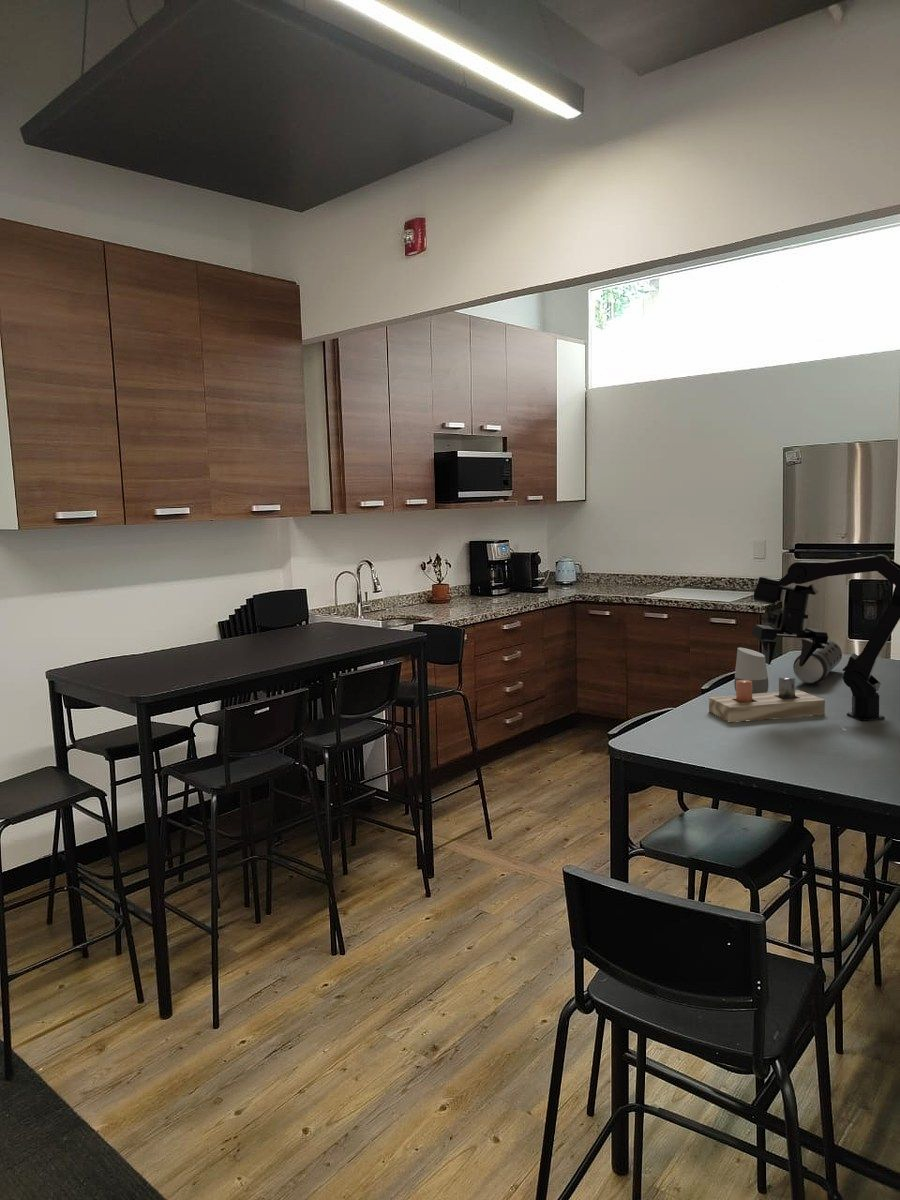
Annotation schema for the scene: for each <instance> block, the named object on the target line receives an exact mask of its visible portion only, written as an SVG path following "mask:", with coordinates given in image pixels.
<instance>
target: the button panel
mask: <svg viewBox="0 0 900 1200" xmlns="http://www.w3.org/2000/svg"><path fill="white" fill-rule="evenodd" d="M825 701H826V699H824V698H821V697H818V696H816V695H813V694H810V693H808V692H805V691H802V690H800V689H795V699H785V700H783V699H781V698H779V691H774V692H772V691H771V692H769V691H768V692H767V693H757V694H752V702H747V703H739V702H737V701H736V694H735V695H724V696H723V695H721V696H712V697H711V696H709V697H708V712H709V713H710V712H711V714H712V713H713V715H714V714H715V715H714V716H716V715H717V716H716V717H718V716H719V717H718V718H720V717H721V718H720V719H722V718H723V719H722V720H724V719H725V720H724V721H726V720H727V721H726V722H728V721H729V722H734V723H737V722H736V721H746V720H758V721H763V720H762V719H770V720H774V719H773V718H782V719H790V718H789V717H794V718H803V717H802V716H806V717H811V716H810V715H818V716H823V715H822V714H826V710H825V709H826V706H825V705H826V702H825ZM729 722H728V723H729ZM746 722H747V721H746Z"/></svg>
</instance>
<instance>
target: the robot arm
mask: <svg viewBox="0 0 900 1200" xmlns="http://www.w3.org/2000/svg"><path fill="white" fill-rule="evenodd" d="M869 572H870V573H871V572H878V574H880V575H881V576H882V577H884V578H885V579H886V580H888V581H889V582H890V583H891V584H893V585H894V588H893V589H894V590H893V592H892V595H891V599H890V602H889V605H888V606H887V608H886V610H885V611H884V614H883V615H882V617H881V618H880V620H879V622H878V624H877V626H876V627H875V629H874V630H873V632H872V634H871V635H870V637H869V639H868V641H867V642H866V645H865V646H864V648H863V649H862V651H861V653H860V654H859V655H858V654H856V653H855V652H853V653H852V654H851V656H849V658H848V661H847V664H846V665H845V666H844V667H843V668H842V670H841V671H842V672H843V674H842V680H843V682H844V684H845V685H846V687H848V688H850V691H851V694H852V696H851V712H846V715H847V716H849V717H850V718H851V717H852V718H854V719H857V720H859V721H870V720H873V721H874V720H884V719H885V718H886V717H885V715H881V714H880V694H879V693H878V691H879V689H880V687H881V682H880V681H879V680H878V679H877V678H876V677H875V676H874V675H873V672H874V670H875V666H876V663H877V660H878V657H879V656H880V655H879V654H880V653H881V652H882V650H883V648H884V647H885V645H886V643H887V641H888V640H889V638H890V636H891V634H892V633H893V631H894V630H895V628H896V626H897V625H898V623H899V622H900V564H898V563H897V562H895V561H894V560H892V559H890V558H889V557H888V556H887V555H886V554H881V553H880V554H877V555H875V556H874V555H873V556H867V557H857V558H848V559H841V560H832V561H830V560H829V561H823V560H822V561H819V560H800V561H796V562H794V563H791V564H790V566H789V567H788V568H787V573H786V574H785V575H784V576H783V577H780V579H775V578H769V577H767V576H759V577H758V582H757V584H756V586H755V588H754V591H753V600H754V601H755V602H758V603H759V602H760V603H762V604H763V603H764V604H769V605H774V606H776V605H778V604H779V603H781V602H783V605H782V608H780V609H779V611H778V614H774V611H764V613H763V617H762V622H763V624H755V625H754V626H753V627H752V630H751V635H753V636H755V638H756V639H758V640H759V641H760V642H761V643H762V646H763V651H764V656H765V661H766V665H771V663H772V661H773V657H774V653H775V649H776V645H777V641H775V639H776V638H777V637H779V638H796V639H801V646H802V647H801V651H800V652H801V653H800V654H799V656H800V661H799V666H801V667H802V666H803V665H804V664H805V663H806V661H807V660H808V659H809V657H810V656H811V655H812V654H813V653H814V652H815V650H816V649H817V648H818V647H819V646H822V645H823V644H821V643H826V644H827V643H828V641H829V634H828V633H827V632H826V631H824V630H822V629H819V628H815V627H814V628H813V627H805V628H804V625H805V620H807V619H809V614H807V608H808V602H809V599H810V598H809V597H810V595H813V596H814V595H817V594H819V590H817V589H816V588H815V586H814V584H812V583H811V584H810V585H809V586H806V585H802V584H807V583H809V582H812V581H813V582H814V581H817V580H820V579H823V578H826V577H834V576H841V575H842V576H843V575H851V574H861V573H863V574H864V573H869ZM791 584H795V587H793V586H792V587H791V586H789V585H791ZM783 600H784V601H783ZM818 649H819V648H818Z"/></svg>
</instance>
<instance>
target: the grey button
mask: <svg viewBox="0 0 900 1200" xmlns="http://www.w3.org/2000/svg"><path fill="white" fill-rule="evenodd" d="M795 690H796V677H792V676H780V677H778V692H779V698H781V699H783V700H785V699H795Z"/></svg>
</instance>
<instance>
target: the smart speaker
mask: <svg viewBox="0 0 900 1200" xmlns="http://www.w3.org/2000/svg"><path fill="white" fill-rule="evenodd" d="M735 662H736V663H735V669H734V670H735V671H734V672H735V673H734V691H735V692H736V681H738V680H749V681H752V694H757V693H769V676H768V669H767V662H766V657H765V654H763V653H761V652H759V651H756V650H753V649H749V648H745V647H737V651H736V660H735Z"/></svg>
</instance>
